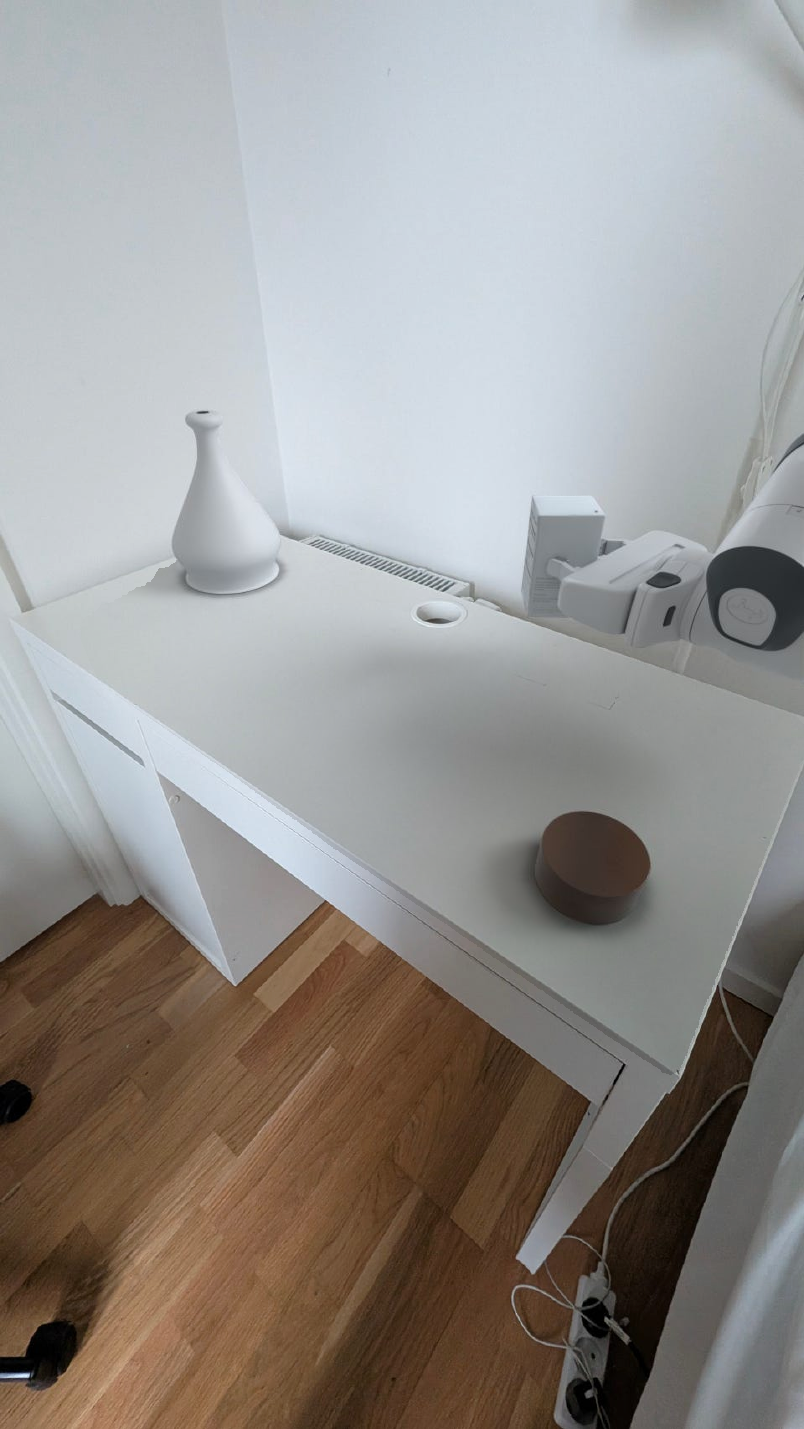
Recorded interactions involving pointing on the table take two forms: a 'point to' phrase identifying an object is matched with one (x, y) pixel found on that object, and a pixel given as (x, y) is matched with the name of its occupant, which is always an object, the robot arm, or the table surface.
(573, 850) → the walnut riser
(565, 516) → the white packaging box
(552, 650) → the table surface
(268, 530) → the vase
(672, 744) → the table surface
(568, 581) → the robot arm
